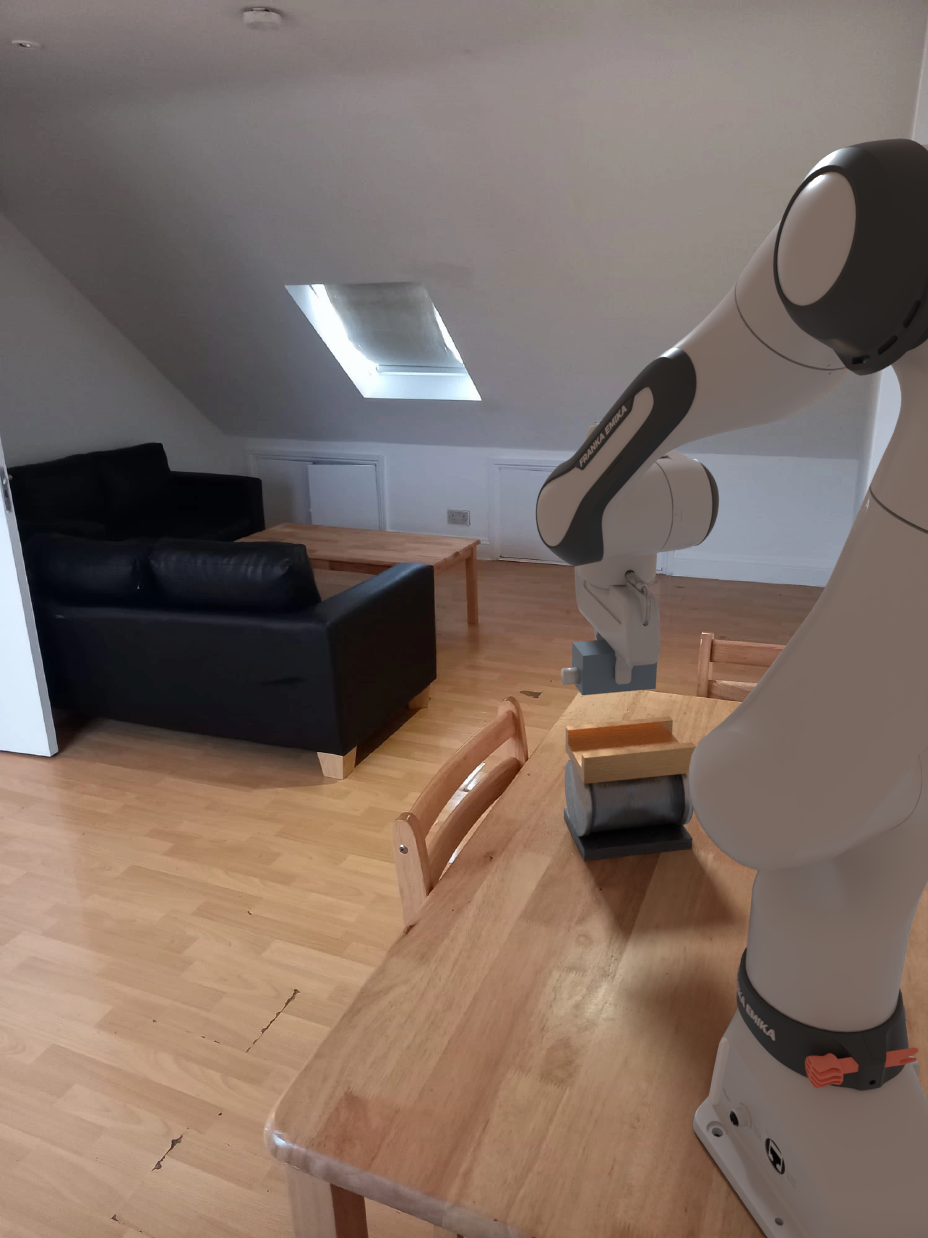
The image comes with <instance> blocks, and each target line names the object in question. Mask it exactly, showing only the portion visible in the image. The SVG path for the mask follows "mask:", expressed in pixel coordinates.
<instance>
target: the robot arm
mask: <svg viewBox="0 0 928 1238" xmlns="http://www.w3.org/2000/svg"><path fill="white" fill-rule="evenodd" d="M890 366H891V367H892V369H893V371H894V373H895V376H896V377H897V381H898V384H899V388H900V389H899V390H900V409H899V414H898V416H897V421H896V424H895V426H894V430H893V432H892V435H891V437H890V439H889V442H888V444H887V446H886V448H885V450H884V452H883V454H882V456H881V458H880V461H879V463H878V465H877V468H876V470H875V472H874V473H873V476H872V478H871V480H870V483H869V486H868V489H867V490H866V494H865V496H864V498H863V500H862V503H861V505H860V508H859V509H858V511H857V515H856V516H855V520H854V522H853V524H852V527H851V529H850V531H849V533H848V534H847V538H846V540H845V542H844V545H843V547H842V550H841V551H840V553H839V556H838V559H837V561H836V563H835V566H834V568H833V570H832V572H831V575H830V577H829V578H828V581H827V582H826V585H825V586H824V588H823V590H822V592H821V594H820V596H819V597H818V599H817V600H816V602H815V603H814V605H813V607H812V609H811V610H810V612H809V613H808V615H807V616H806V617H805V618H804V620H803V621H802V623H800V625H799V627H798V628H797V630H796V631H795V632H794V634H793V635H792V637H791V638H790V639H789V640H788V642H787V643H786V645H785V646H784V647H783V649H782V650H781V652H780V653H779V654H778V655H777V657H776V658H775V660H773V662H772V663H771V665H770V666H769V667H768V669H767V670H766V672H765V673H764V674H763V676H761V678H760V680H759V681H758V682H757V684H756V685H755V686H754V687H753V689H752V690H751V691H750V692H749V693H748V695H746V697H745V698H744V700H743V701H741V703H739V705H738V706H737V707H736V708H735V709H734V710H733V711H732V712H731V713H730V714H729V715H728V716H727V717H725V719H723V721H721V722H720V723H719V724H718V725H717V726H715V728H713V729H712V730H711V731H710V732H708V733H707V734H706V735H705V736H704V737H702V738H701V740H700V741H699V742H698V743H697V744H696V745H695V746H696V747H695V749H694V751H693V754H692V756H691V760H690V764H689V774H688V786H689V793H690V799H691V803H692V806H693V813H694V814H695V816H696V819H697V821H698V823H699V824H700V826H701V828H702V830H703V831H704V832H705V834H706V835H707V837H708V838H709V840H710V841H712V843H713V844H714V845H715V846H716V847H717V848H718V849H719V850H720V851H721V852H722V853H724V854H725V855H726V856H728V857H729V858H730V859H732V860H733V861H735V862H736V863H738V864H740V865H742V866H744V867H746V868H749V869H752V870H756V874H755V877H754V880H753V884H752V888H751V899H750V911H749V921H748V931H747V933H748V934H747V942H746V943H747V944H746V947H745V949H744V950H743V952H742V955H741V956H740V957H741V958H740V962H739V965H738V968H737V971H736V972H737V974H736V981H735V982H736V1005H737V1009H736V1010H735V1013H734V1015H733V1017H732V1019H731V1020H730V1022H729V1024H728V1026H727V1028H726V1030H725V1031H724V1032H723V1035H722V1036H721V1039H720V1040H719V1043H718V1048H717V1051H716V1058H715V1062H714V1067H713V1072H712V1077H711V1083H710V1088H709V1093H708V1096H707V1097H706V1098H705V1099H704V1100H703V1101H702V1102H701V1103H700V1105H699V1106H698V1107H697V1109H696V1111H695V1113H694V1117H693V1122H692V1128H693V1130H694V1132H695V1133H694V1134H696V1136H697V1137H698V1138H699V1140H700V1142H702V1144H703V1146H704V1147H705V1149H706V1150H707V1152H708V1153H709V1154H710V1156H711V1158H712V1159H713V1161H714V1162H715V1164H717V1166H718V1168H719V1169H720V1171H721V1172H722V1173H723V1175H724V1177H725V1178H726V1179H727V1181H728V1182H729V1184H730V1185H731V1187H732V1188H733V1190H734V1191H735V1192H736V1193H737V1195H738V1197H739V1198H740V1200H741V1201H742V1203H743V1204H744V1205H745V1207H746V1208H747V1210H748V1211H749V1213H750V1215H751V1216H752V1217H753V1219H754V1220H755V1222H756V1223H757V1224H758V1226H759V1227H760V1230H761V1231H762V1232H763V1233H764V1235H765V1236H766V1237H767V1238H928V1098H927V1095H926V1093H925V1090H924V1088H923V1086H922V1084H921V1081H920V1079H919V1075H920V1072H921V1068H920V1065H919V1061H918V1058H916V1057H915V1056H914V1055H915V1054H917V1053H919V1049H918V1048H917V1047H910V1046H909V1037H908V1030H907V1022H908V1020H907V1019H908V1018H907V1012H906V1011H907V1010H906V1007H905V1004H904V999H903V992H902V990H901V983H902V976H903V971H904V966H905V960H906V954H907V951H908V950H907V949H908V944H909V939H910V933H911V929H912V924H913V921H914V919H915V914H916V911H917V908H918V906H919V904H920V900H921V898H922V896H923V894H924V893H923V892H924V891H925V889H926V888H927V887H926V886H927V884H928V144H927V143H926V144H925V143H924V144H921V143H919V142H917V141H915V140H912V139H908V138H890V139H878V140H873V141H872V140H870V141H865V142H861V143H856V144H851V145H848V146H845V147H843V148H839V149H837V150H834V151H833V152H831V153H830V154H828V155H826V156H825V157H823V158H822V159H820V160H819V162H817V164H815V166H813V167H812V168H811V169H810V171H809V172H808V173H807V174H806V176H805V177H804V179H803V180H802V181H801V183H800V185H799V186H798V187H797V188H796V190H795V191H794V193H793V195H792V196H791V197H790V200H789V202H788V203H787V206H786V208H785V210H784V211H783V215H782V218H781V219H780V220H779V221H778V222H777V223H776V224H775V226H774V227H773V229H771V231H770V233H768V235H767V236H766V238H765V239H764V240H763V241H762V243H761V244H760V246H759V247H758V249H757V250H756V251H755V252H754V254H753V255H752V257H751V258H750V260H749V261H748V263H747V264H746V265H745V267H744V269H743V271H742V272H741V273H740V275H739V277H738V278H737V280H736V281H735V282H734V284H733V285H732V287H731V289H729V291H728V293H727V294H726V295H725V296H724V297H723V299H722V300H721V301H720V302H719V303H718V304H717V305H716V306H715V308H713V309H712V311H711V312H710V313H709V314H708V315H707V316H706V317H705V318H704V319H703V320H702V321H700V323H699V324H697V326H695V328H693V329H692V330H691V331H690V332H689V333H687V334H686V335H685V336H684V337H683V338H682V339H680V340H679V341H678V342H676V343H675V344H674V345H673V346H672V347H670V348H669V349H667V350H665V351H663V353H661V354H660V355H658V357H656V358H655V359H654V360H652V361H651V362H649V363H648V365H646V366H645V367H644V368H643V369H642V370H641V371H640V372H638V375H637V376H636V377H635V378H634V379H633V380H632V381H631V382H630V384H629V385H628V386H627V387H626V389H624V391H623V392H622V394H621V395H620V396H619V398H617V400H616V401H615V402H614V404H613V405H612V406H611V408H610V409H609V410H608V412H606V414H605V415H604V416H603V417H602V419H600V420H597V421H595V422H593V424H591V425H589V427H588V428H587V431H586V434H585V437H584V442H583V443H582V445H580V447H579V449H578V450H577V451H576V452H575V453H574V454H573V455H572V456H571V457H570V458H569V459H567V460H566V461H564V462H561V463H560V464H559V465H558V466H556V468H555V469H554V470H553V471H552V472H551V473H550V474H549V475H548V476H547V478H546V480H544V483H543V485H542V486H541V488H540V489H539V493H538V495H537V498H536V504H535V523H536V529H537V532H538V535H539V538H540V540H541V541H542V543H543V544H544V545H545V547H546V548H548V550H549V551H550V552H552V553H553V554H554V555H555V556H557V557H558V558H560V559H561V560H562V561H563V562H565V563H567V565H568V564H569V565H570V566H572V567H574V587H575V589H574V590H575V599H576V600H575V601H576V606H577V608H578V611H579V612H580V613H581V615H582V616H583V617H584V618H585V619H586V620H587V622H588V623H589V624H590V625H591V626H592V627H593V634H594V635H593V636H594V640H606V642H607V643H608V644H609V645H610V646H611V647H612V648H613V649H614V651H615V656H616V657H617V659H616V665H615V666H613V679H614V680H615V681H616V683H617V684H628V683H630V681H631V671H632V668H633V666H637V665H648V664H654V663H656V662H657V663H658V660H659V659H660V655H661V614H660V605H659V601H658V599H657V597H656V596H655V595H654V593H652V592H651V591H650V590H649V584H648V583H649V582H650V581H652V580H653V579H655V577H656V576H657V564H658V563H657V562H658V561H657V559H658V558H657V557H658V553H665V552H666V553H667V552H675V551H682V550H686V549H690V548H692V547H696V546H699V545H701V544H702V543H703V542H704V541H705V540H706V539H708V537H709V535H710V534H711V532H712V530H713V529H714V526H715V524H716V522H717V518H718V513H719V508H720V507H719V506H720V495H719V494H720V493H719V488H718V484H717V481H716V479H715V477H714V476H713V474H712V472H711V471H710V470H709V468H708V467H706V465H704V464H703V462H700V461H699V460H697V458H690V457H688V456H686V455H684V454H683V453H681V452H680V451H679V450H677V449H678V448H680V447H681V446H685V445H687V444H688V443H692V442H695V441H697V440H701V439H704V438H709V437H712V436H715V435H716V436H717V435H720V434H723V433H724V434H725V433H728V432H733V431H738V430H743V429H748V428H753V427H756V426H763V425H768V424H773V423H776V422H780V421H784V420H787V419H791V418H793V417H795V416H797V415H799V414H801V413H802V412H804V411H806V410H807V409H809V408H810V407H812V406H813V405H815V404H816V403H817V402H819V401H820V400H821V399H823V398H824V397H825V396H827V395H828V394H829V393H830V392H832V391H833V390H834V389H835V388H837V386H839V385H840V384H841V382H842V381H843V380H845V378H846V377H847V376H848V375H849V373H851V372H852V373H853V374H855V375H857V376H862V377H863V376H868V375H872V374H875V373H876V374H877V373H878V372H880V371H882V370H884V369H886V368H888V367H890ZM909 1047H910V1048H909ZM716 1135H717V1136H716Z"/></svg>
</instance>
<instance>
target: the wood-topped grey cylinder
mask: <svg viewBox="0 0 928 1238" xmlns="http://www.w3.org/2000/svg"><path fill="white" fill-rule="evenodd" d="M673 720H674V719H673V718H672V717H670V716H661V717H659V716H658V717H649V718H648V717H647V718H639V719H637V718H636V719H627V720H618V721H607V722H605V721H604V722H595V723H584V724H573V725H565V752H566V754H567V756H568V758H569V760H567V761H566V764H565V767H564V768H565V769H564V794H565V802H566V807H564V809H563V818H564V821H565V823H566V825H567V827H568V829H569V831H570V832H569V833H570V834H571V836H572V838H573V840H574V842H575V844H576V846H577V848H578V851H579V853H580V855H581V857H582V859H583V861H585V862H587V861H596V860H603V859H604V860H605V859H612V858H620V857H627V856H628V857H630V856H638V855H645V854H646V855H647V854H655V853H663V852H664V853H665V852H673V851H681V850H689V849H690V850H691V849H692V848H693V837H692V835H691V834H690V832H689V831H688V830H687V829H686V827H685V825H688V824H689V823H690V822H691V820H692V818H693V815H694V809H693V806H692V803H691V799H690V793H689V786H688V774H689V764H690V760H691V756H692V754H693V751H694V749H695V747H696V746H697V745H695V744H694V743H693V742H684V743H683V742H682V743H681V742H679V741H678V739H677V738H676V737H675V735H673V727H674V725H673V723H674V721H673Z"/></svg>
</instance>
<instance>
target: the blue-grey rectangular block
mask: <svg viewBox="0 0 928 1238" xmlns="http://www.w3.org/2000/svg"><path fill="white" fill-rule="evenodd" d="M571 647H572V649H571V651H572V652H571V653H572V654H571V655H572V656H571V667H563V668H561V670H560V677H561V678H560V679H561V683H562V685H563V686H568V685H569V686H570V685H575V687H576V689H577V690H578V692H579V693H580V694H581V696H591V695H601V694H603V695H604V694H614V693H615V694H616V693H624V692H635V691H636V692H637V691H645V690H646V691H647V690H656V689H657V672H658V670H657V669H658V661H657V662H656V663H654V664H648V665H637V666H633V668H632V671H631V681H630V683H628V684H617V683H616V681H615V680H614V679H613V666H615V665H616V659H617V657H616V656H615V651H614V649H613V648H612V647H611V646H610V645H609V644H608V643H607V642H606V640H595V639H594V640H585V641H583V640H582V641H573V642H572V646H571Z"/></svg>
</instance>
